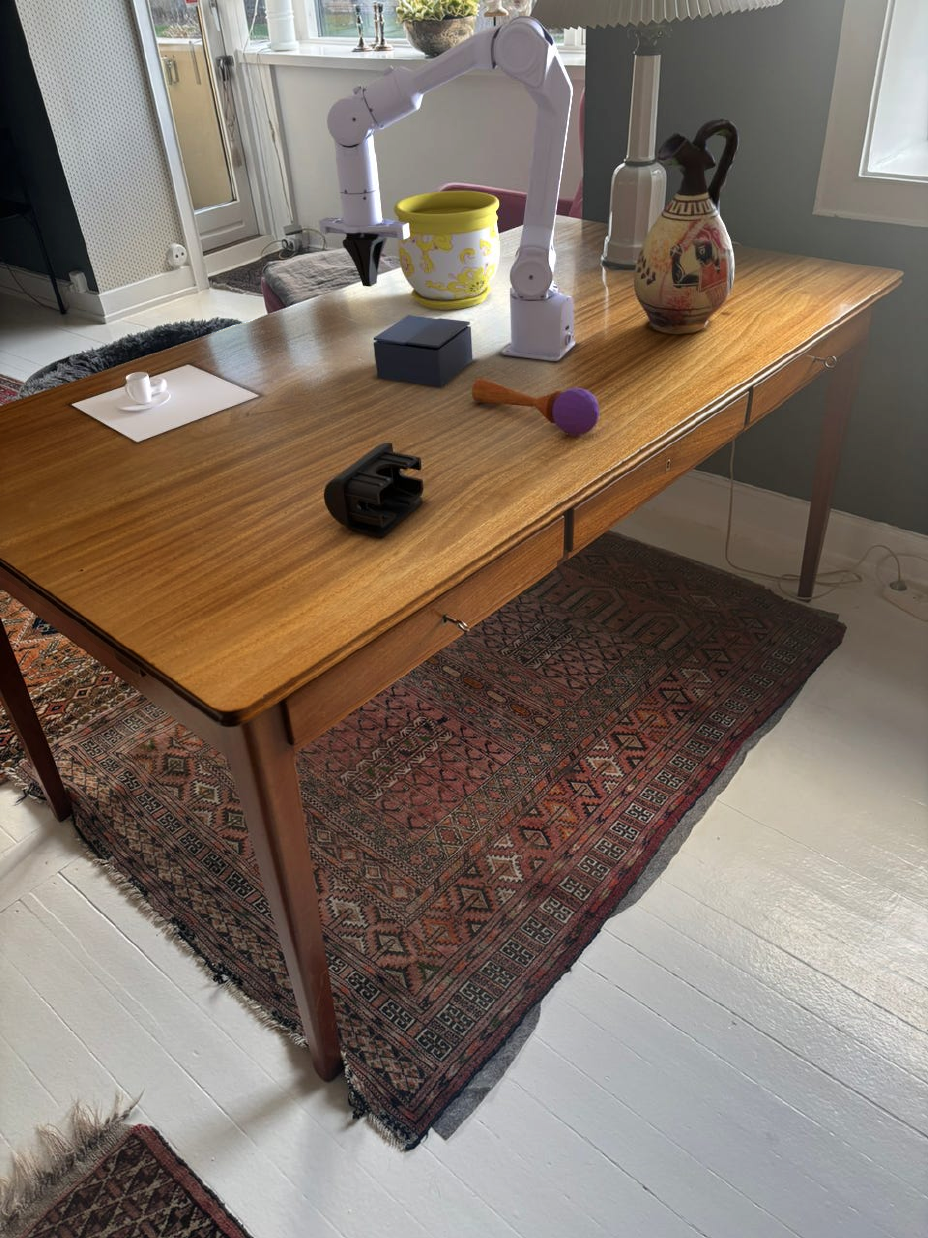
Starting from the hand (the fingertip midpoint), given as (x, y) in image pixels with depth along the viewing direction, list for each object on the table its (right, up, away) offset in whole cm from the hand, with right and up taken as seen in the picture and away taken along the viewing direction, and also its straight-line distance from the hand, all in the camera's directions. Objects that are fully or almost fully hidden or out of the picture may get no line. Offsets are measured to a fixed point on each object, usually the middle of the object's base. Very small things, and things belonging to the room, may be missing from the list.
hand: (369, 284), depth 145 cm
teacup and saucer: (-30, -20, -6) cm, 36 cm away
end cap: (+5, -40, -37) cm, 54 cm away
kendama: (+24, -25, -18) cm, 39 cm away
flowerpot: (+12, +6, +25) cm, 29 cm away
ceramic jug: (+51, -4, +8) cm, 51 cm away
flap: (+6, -8, -4) cm, 11 cm away
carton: (+9, -14, -2) cm, 16 cm away
